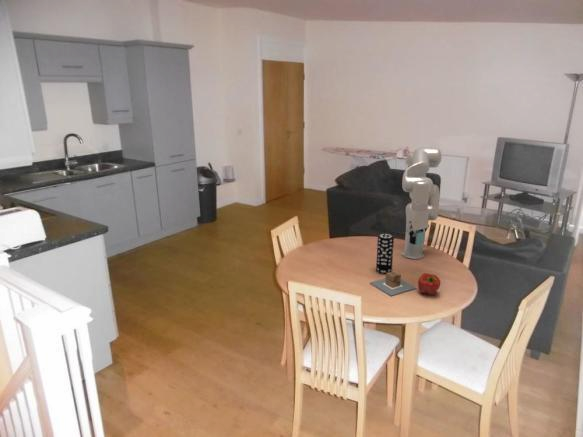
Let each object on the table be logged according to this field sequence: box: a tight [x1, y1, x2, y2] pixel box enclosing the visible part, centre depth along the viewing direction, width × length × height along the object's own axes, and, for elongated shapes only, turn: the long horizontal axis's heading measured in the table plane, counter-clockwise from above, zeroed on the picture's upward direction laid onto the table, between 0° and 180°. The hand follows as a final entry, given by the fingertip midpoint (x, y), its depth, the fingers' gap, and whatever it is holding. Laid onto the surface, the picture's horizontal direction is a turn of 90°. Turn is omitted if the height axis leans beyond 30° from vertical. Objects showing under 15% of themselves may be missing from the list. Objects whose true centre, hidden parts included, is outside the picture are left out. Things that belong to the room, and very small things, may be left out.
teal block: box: [409, 230, 426, 245], centre depth 207 cm, size 5×5×6 cm
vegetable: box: [417, 272, 442, 296], centre depth 201 cm, size 11×10×10 cm
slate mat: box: [369, 277, 417, 297], centre depth 210 cm, size 16×16×1 cm
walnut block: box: [385, 270, 402, 288], centre depth 209 cm, size 5×5×6 cm
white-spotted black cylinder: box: [375, 233, 395, 275], centre depth 225 cm, size 8×8×20 cm
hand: (416, 242), depth 207 cm, fingers closed on teal block, 4 cm apart
